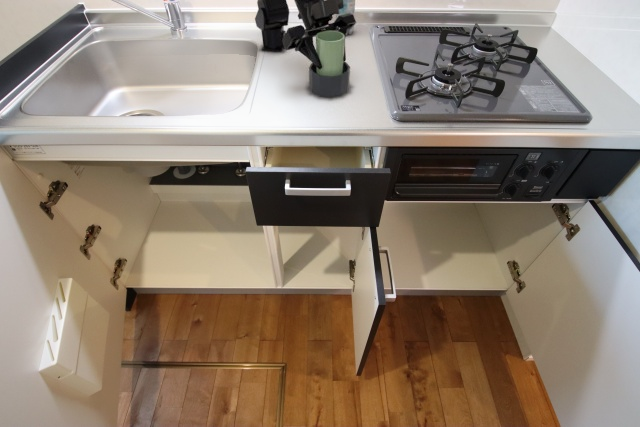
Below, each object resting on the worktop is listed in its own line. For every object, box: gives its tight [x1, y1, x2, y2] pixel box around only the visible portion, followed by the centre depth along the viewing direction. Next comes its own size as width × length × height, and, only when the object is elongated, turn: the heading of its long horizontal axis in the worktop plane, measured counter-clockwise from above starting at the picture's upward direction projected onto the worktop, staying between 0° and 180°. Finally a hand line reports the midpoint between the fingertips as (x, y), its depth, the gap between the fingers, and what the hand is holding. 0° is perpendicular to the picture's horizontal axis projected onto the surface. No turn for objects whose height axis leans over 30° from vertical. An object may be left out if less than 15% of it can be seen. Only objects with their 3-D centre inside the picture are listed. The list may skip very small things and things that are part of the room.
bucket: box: [308, 61, 351, 99], centre depth 88 cm, size 10×10×6 cm
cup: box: [315, 31, 346, 76], centre depth 85 cm, size 7×7×13 cm
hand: (332, 64), depth 84 cm, fingers closed on cup, 7 cm apart
